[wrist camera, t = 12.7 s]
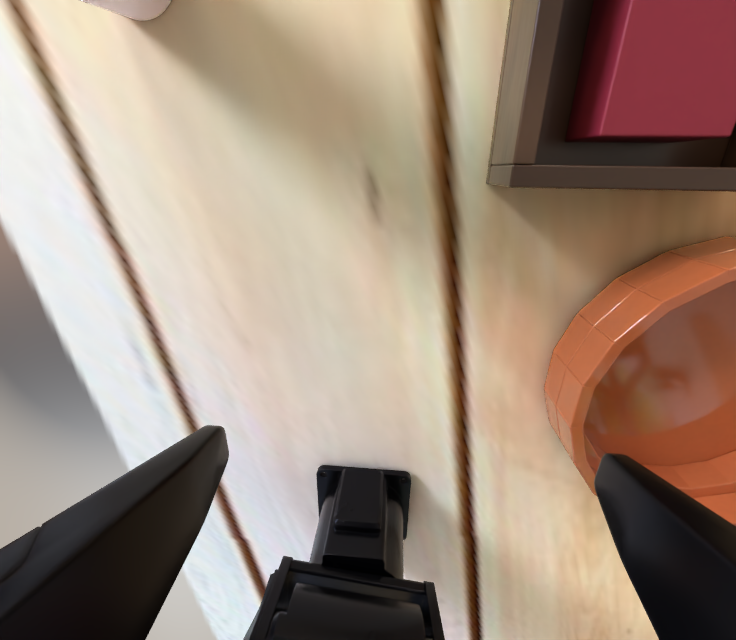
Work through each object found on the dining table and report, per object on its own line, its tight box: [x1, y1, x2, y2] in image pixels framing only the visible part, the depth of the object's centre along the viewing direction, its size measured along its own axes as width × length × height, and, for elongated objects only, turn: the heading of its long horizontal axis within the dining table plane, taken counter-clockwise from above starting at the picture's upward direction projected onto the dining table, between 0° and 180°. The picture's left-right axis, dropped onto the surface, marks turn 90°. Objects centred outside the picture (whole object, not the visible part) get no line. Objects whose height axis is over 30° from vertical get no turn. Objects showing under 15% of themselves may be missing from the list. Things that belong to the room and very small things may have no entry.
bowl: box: [544, 237, 736, 526], centre depth 18 cm, size 15×15×4 cm
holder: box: [486, 0, 736, 191], centre depth 13 cm, size 11×11×4 cm
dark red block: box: [565, 0, 736, 143], centre depth 13 cm, size 7×4×3 cm, turn 179°
